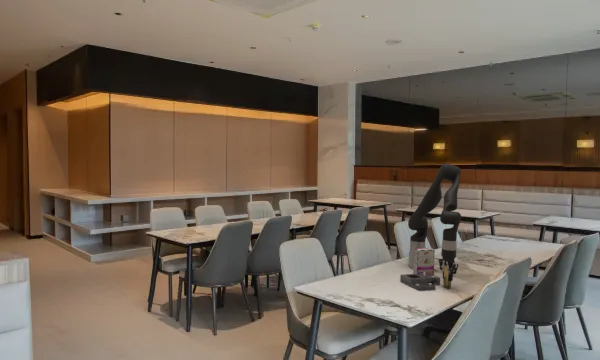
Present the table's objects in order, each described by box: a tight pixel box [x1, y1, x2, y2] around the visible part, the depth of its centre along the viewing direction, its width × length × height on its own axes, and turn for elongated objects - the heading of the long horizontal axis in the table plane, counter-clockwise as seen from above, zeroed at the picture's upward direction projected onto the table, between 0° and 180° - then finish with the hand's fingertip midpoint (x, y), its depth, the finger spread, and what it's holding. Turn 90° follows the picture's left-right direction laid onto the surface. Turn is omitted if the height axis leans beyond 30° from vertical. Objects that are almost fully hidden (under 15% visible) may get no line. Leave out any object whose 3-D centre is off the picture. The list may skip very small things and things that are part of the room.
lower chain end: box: [399, 277, 436, 292], centre depth 240 cm, size 18×10×3 cm, turn 20°
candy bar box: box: [412, 247, 436, 275], centre depth 260 cm, size 11×5×16 cm, turn 105°
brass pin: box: [442, 265, 452, 290], centre depth 238 cm, size 4×4×12 cm
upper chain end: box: [399, 272, 441, 286], centre depth 246 cm, size 10×19×5 cm, turn 110°
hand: (447, 279), depth 238 cm, fingers closed on brass pin, 4 cm apart
